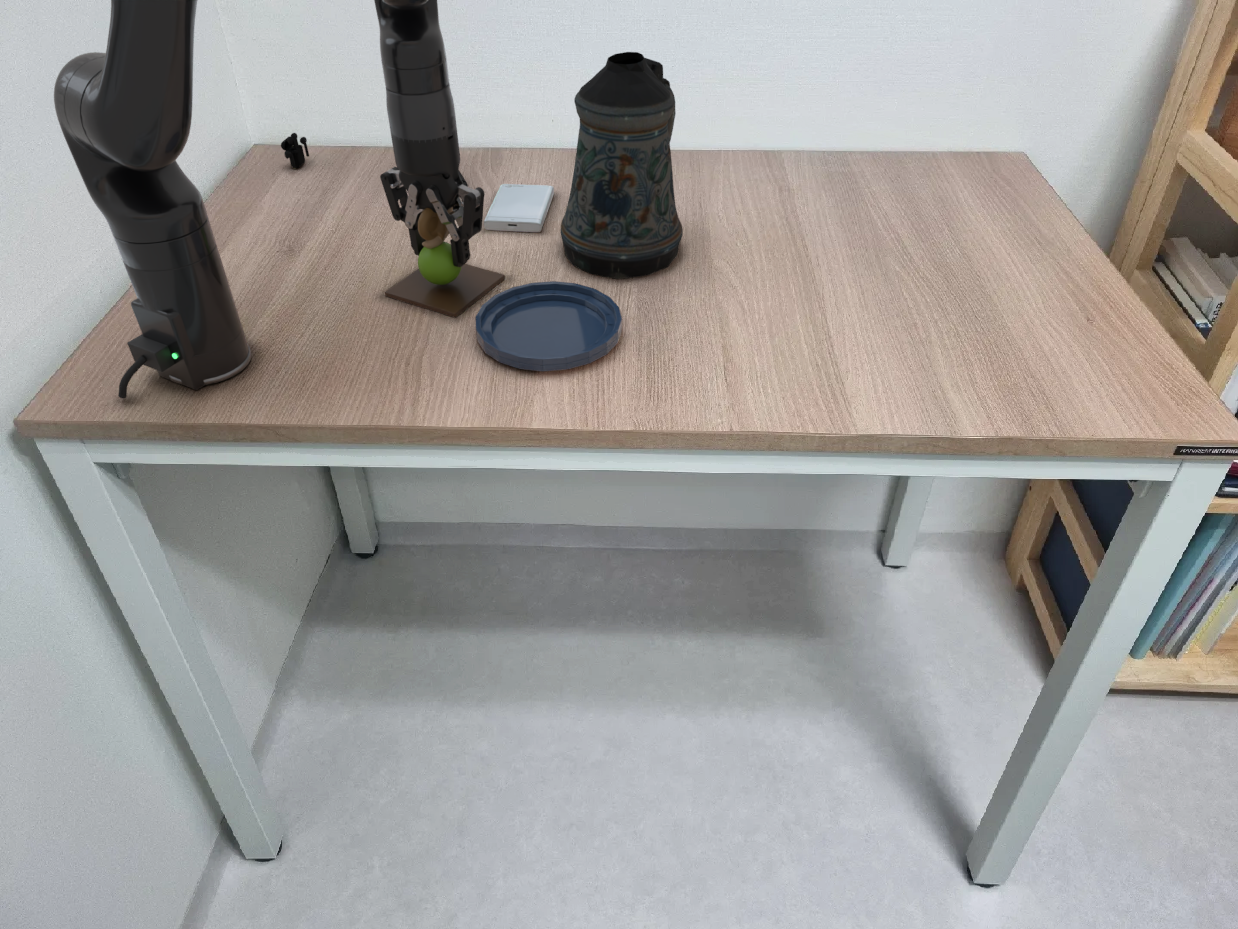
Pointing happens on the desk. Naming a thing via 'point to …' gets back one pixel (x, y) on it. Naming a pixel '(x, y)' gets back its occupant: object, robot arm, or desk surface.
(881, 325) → the desk surface
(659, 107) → the beer stein
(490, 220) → the hard drive
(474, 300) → the coaster
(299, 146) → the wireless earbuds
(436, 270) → the snail figurine
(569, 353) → the plate
